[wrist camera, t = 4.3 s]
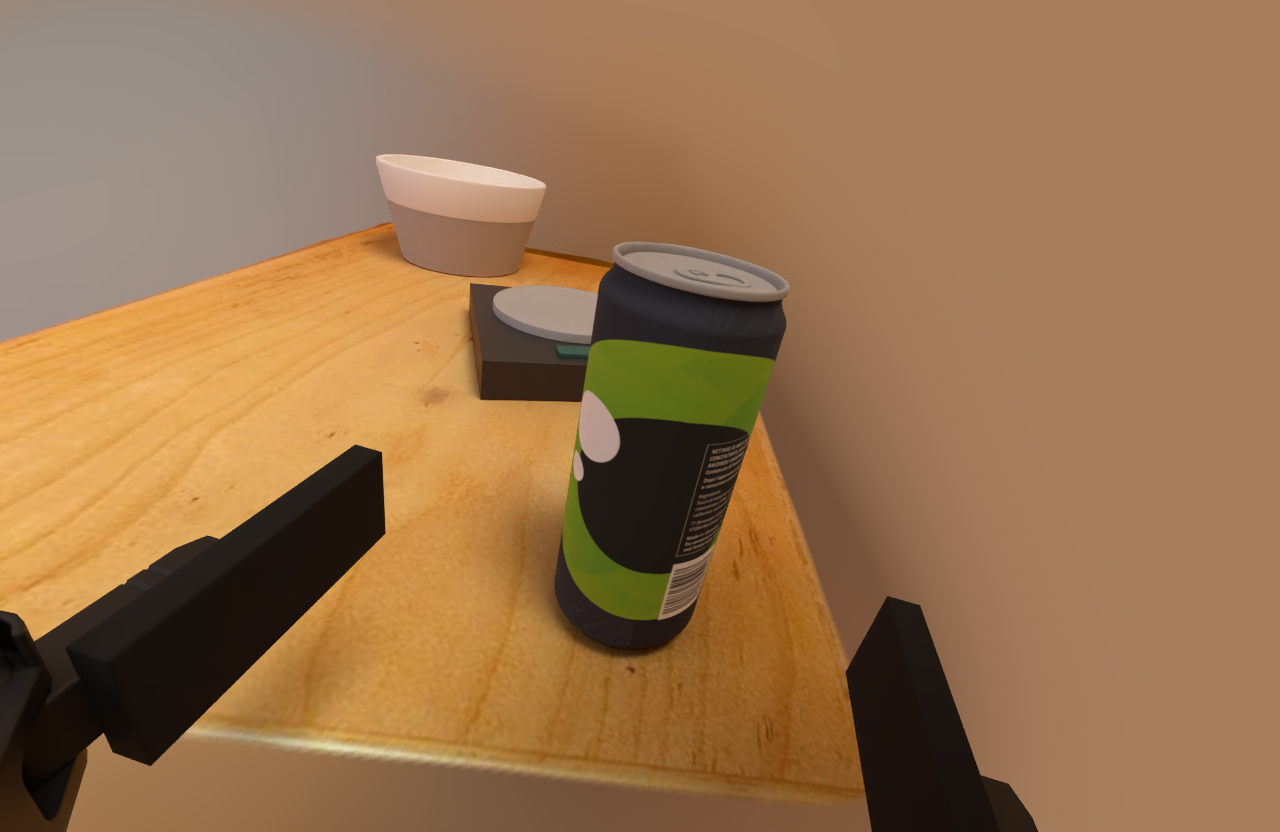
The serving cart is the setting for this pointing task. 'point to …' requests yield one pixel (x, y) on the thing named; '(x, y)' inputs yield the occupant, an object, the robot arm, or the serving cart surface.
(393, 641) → the serving cart surface
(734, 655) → the serving cart surface
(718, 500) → the beverage can
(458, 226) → the bowl
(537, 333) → the scale
